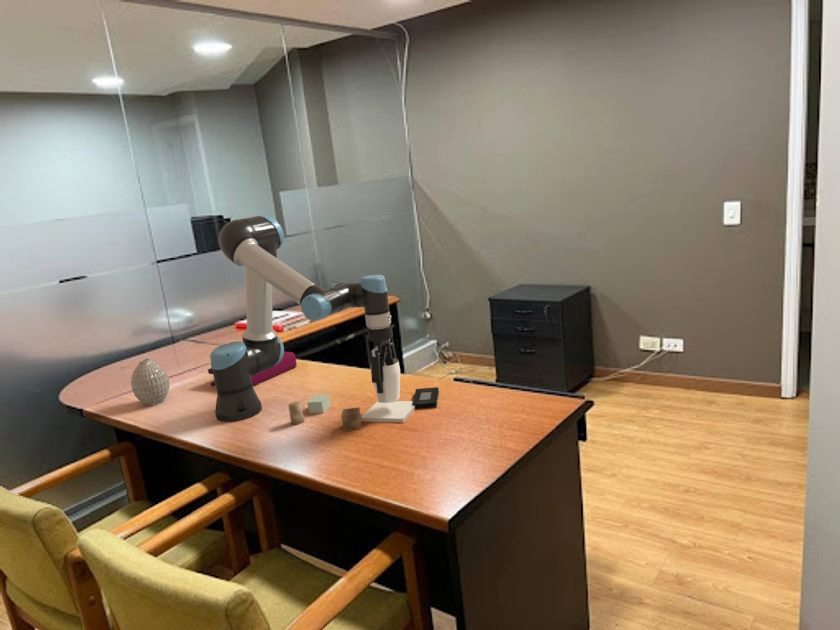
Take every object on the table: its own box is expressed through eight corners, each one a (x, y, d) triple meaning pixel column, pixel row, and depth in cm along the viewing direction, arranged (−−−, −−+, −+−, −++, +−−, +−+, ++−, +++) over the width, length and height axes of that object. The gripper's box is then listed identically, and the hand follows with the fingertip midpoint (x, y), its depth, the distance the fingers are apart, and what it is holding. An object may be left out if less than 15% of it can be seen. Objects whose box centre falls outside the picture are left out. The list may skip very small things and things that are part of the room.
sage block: (309, 414, 202) (307, 402, 201) (316, 405, 208) (314, 394, 208) (323, 413, 201) (321, 401, 200) (330, 405, 207) (328, 394, 207)
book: (297, 368, 256) (294, 350, 254) (246, 391, 233) (242, 372, 231) (261, 365, 267) (258, 348, 265) (209, 387, 244) (205, 368, 243)
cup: (399, 404, 188) (395, 366, 185) (371, 405, 190) (366, 367, 187) (406, 393, 196) (401, 357, 194) (379, 394, 198) (374, 358, 196)
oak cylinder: (289, 424, 194) (285, 406, 193) (295, 419, 198) (292, 401, 196) (300, 425, 193) (297, 406, 191) (306, 419, 196) (303, 402, 195)
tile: (361, 421, 190) (360, 417, 190) (378, 404, 203) (378, 400, 202) (403, 422, 185) (403, 418, 185) (418, 404, 198) (418, 401, 198)
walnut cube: (343, 431, 184) (341, 415, 183) (345, 424, 189) (343, 409, 188) (360, 429, 184) (358, 413, 183) (361, 422, 189) (359, 407, 188)
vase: (130, 405, 231) (120, 362, 228) (163, 394, 240) (154, 352, 237) (144, 411, 222) (135, 367, 219) (178, 399, 231) (169, 356, 228)
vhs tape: (412, 410, 195) (412, 404, 194) (416, 394, 209) (416, 388, 208) (436, 408, 194) (435, 402, 194) (438, 392, 208) (438, 387, 207)
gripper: (377, 335, 177) (387, 410, 182) (403, 317, 196) (411, 384, 201) (353, 336, 179) (363, 409, 184) (381, 318, 199) (390, 384, 204)
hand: (388, 396), depth 193 cm, fingers closed on cup, 9 cm apart
